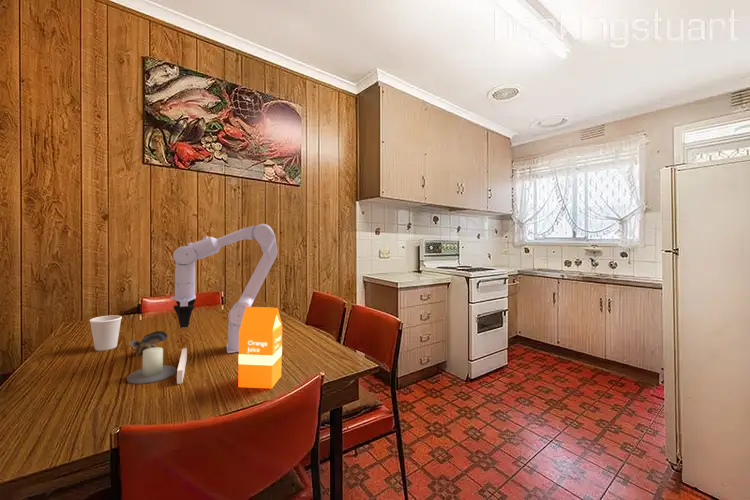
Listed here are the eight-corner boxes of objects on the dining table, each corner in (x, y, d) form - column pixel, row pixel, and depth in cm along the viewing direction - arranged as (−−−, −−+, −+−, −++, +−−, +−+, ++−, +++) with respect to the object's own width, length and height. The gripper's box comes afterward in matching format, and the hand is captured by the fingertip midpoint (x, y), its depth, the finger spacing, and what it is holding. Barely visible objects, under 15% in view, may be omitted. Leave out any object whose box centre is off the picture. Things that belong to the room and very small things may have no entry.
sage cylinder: (163, 368, 89) (164, 346, 88) (161, 375, 85) (161, 351, 84) (144, 371, 86) (144, 348, 86) (141, 378, 82) (141, 353, 82)
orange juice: (250, 374, 88) (251, 303, 87) (281, 375, 87) (283, 304, 87) (237, 387, 80) (238, 310, 79) (271, 388, 80) (273, 311, 79)
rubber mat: (177, 364, 93) (177, 363, 93) (174, 379, 83) (174, 377, 83) (131, 370, 88) (131, 369, 88) (122, 387, 78) (122, 385, 78)
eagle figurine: (153, 354, 97) (173, 340, 106) (138, 336, 96) (160, 323, 105) (135, 365, 99) (157, 350, 108) (121, 347, 98) (144, 333, 107)
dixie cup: (126, 342, 110) (126, 314, 110) (115, 350, 102) (115, 320, 102) (97, 344, 108) (97, 315, 107) (83, 353, 100) (83, 322, 99)
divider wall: (186, 359, 97) (187, 348, 97) (182, 383, 81) (182, 369, 81) (182, 359, 96) (182, 348, 96) (176, 384, 81) (177, 370, 80)
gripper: (172, 280, 106) (172, 320, 107) (168, 286, 94) (168, 331, 94) (196, 279, 110) (196, 318, 110) (195, 285, 97) (195, 328, 97)
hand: (185, 324), depth 102 cm, fingers open, 7 cm apart
